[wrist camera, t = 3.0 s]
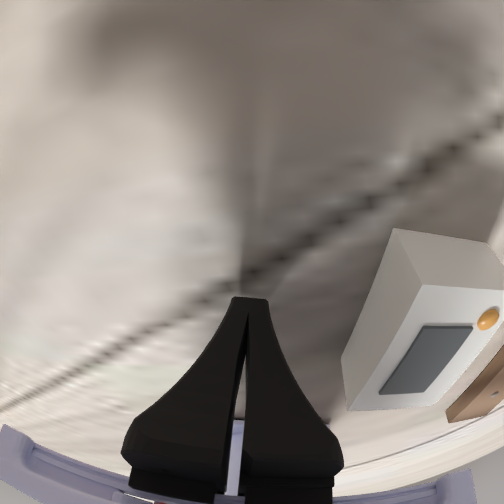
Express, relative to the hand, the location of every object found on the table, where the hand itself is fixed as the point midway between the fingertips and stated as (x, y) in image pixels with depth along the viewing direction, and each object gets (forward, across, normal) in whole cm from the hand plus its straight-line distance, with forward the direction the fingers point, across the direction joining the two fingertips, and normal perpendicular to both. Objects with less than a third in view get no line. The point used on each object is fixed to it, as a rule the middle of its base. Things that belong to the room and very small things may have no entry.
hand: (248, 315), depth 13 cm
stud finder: (+1, -8, 0) cm, 8 cm away
